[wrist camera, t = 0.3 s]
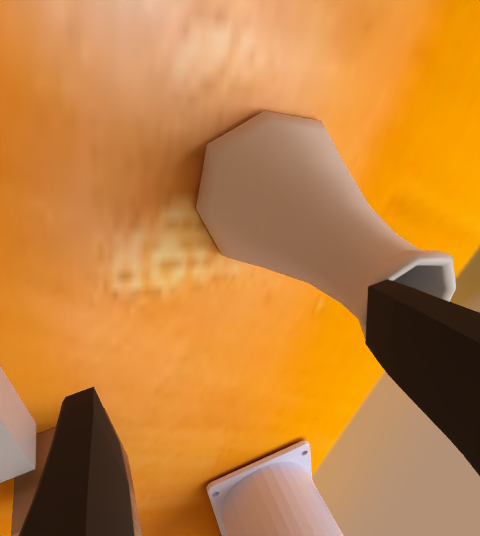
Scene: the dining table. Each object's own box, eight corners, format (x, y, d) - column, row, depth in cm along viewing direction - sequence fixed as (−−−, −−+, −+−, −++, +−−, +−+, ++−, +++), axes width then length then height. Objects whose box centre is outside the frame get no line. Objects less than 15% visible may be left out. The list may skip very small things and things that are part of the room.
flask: (205, 272, 21) (301, 431, 13) (180, 125, 17) (297, 222, 9) (331, 236, 23) (483, 354, 15) (335, 95, 19) (544, 154, 11)
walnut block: (127, 455, 25) (142, 537, 21) (50, 487, 24) (51, 579, 20) (104, 407, 23) (116, 489, 19) (17, 440, 22) (11, 536, 18)
